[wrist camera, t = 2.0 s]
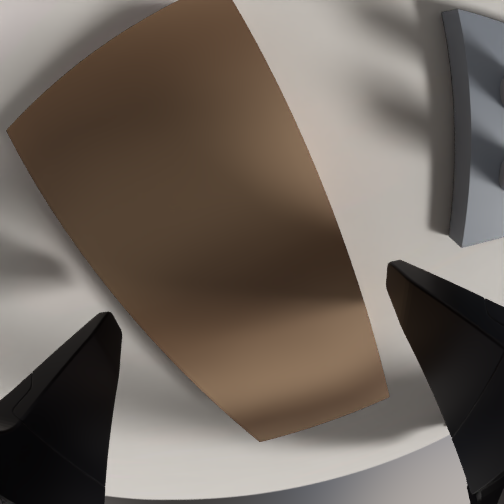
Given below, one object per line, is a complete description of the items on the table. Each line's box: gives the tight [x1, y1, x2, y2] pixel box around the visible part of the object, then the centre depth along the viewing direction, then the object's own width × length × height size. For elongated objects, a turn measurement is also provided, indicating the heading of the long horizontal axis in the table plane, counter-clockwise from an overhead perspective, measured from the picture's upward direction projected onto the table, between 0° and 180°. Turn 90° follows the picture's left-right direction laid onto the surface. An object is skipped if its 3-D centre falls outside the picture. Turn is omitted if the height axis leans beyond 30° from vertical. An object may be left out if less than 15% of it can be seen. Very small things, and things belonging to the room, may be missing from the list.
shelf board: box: [6, 0, 389, 442], centre depth 10 cm, size 16×6×3 cm, turn 25°
